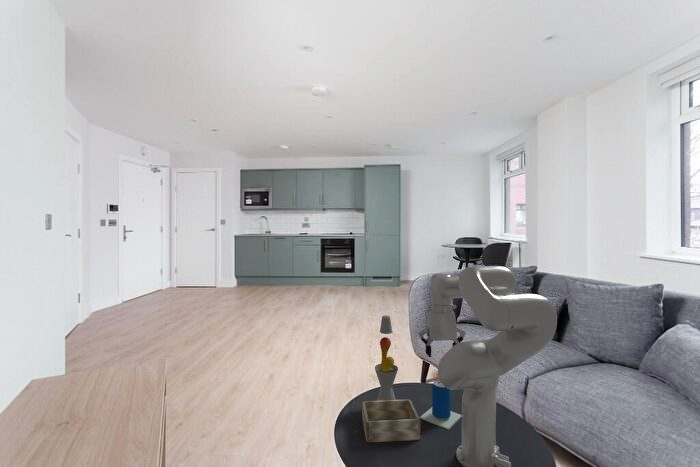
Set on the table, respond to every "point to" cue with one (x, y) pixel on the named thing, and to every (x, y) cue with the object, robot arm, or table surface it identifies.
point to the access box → (390, 428)
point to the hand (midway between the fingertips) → (442, 355)
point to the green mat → (442, 423)
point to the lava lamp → (386, 364)
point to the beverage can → (441, 401)
